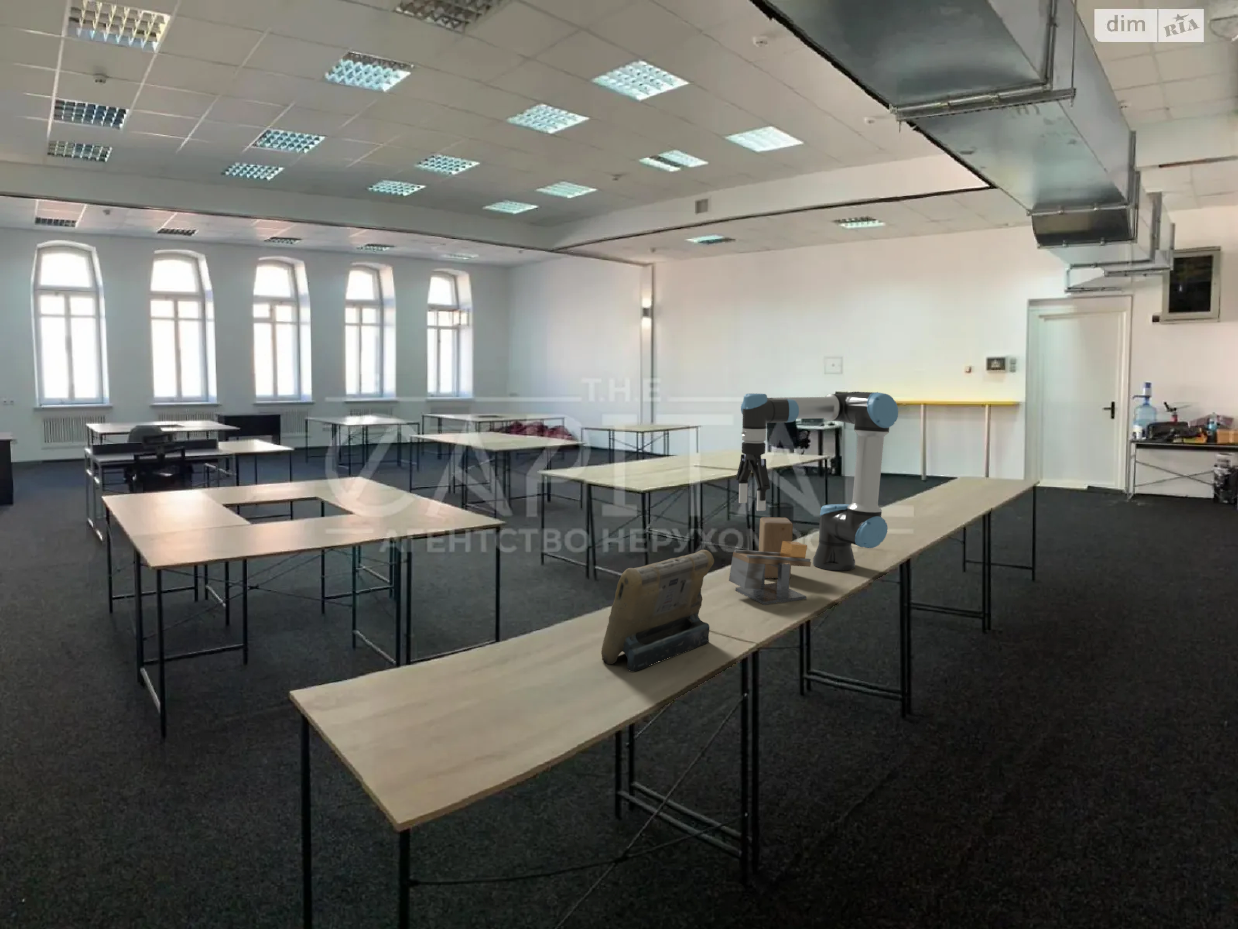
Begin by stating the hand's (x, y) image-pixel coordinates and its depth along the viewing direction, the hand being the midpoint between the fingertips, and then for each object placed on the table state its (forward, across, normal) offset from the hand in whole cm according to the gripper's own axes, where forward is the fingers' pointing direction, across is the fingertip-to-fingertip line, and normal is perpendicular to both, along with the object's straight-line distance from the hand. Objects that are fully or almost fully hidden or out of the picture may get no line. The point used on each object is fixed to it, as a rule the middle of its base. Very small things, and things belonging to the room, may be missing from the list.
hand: (751, 506), depth 246 cm
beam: (+25, +8, +3) cm, 26 cm away
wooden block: (+28, -14, +16) cm, 35 cm away
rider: (+16, +6, +12) cm, 21 cm away
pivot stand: (+28, +7, +4) cm, 29 cm away
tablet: (+27, +46, -47) cm, 71 cm away
